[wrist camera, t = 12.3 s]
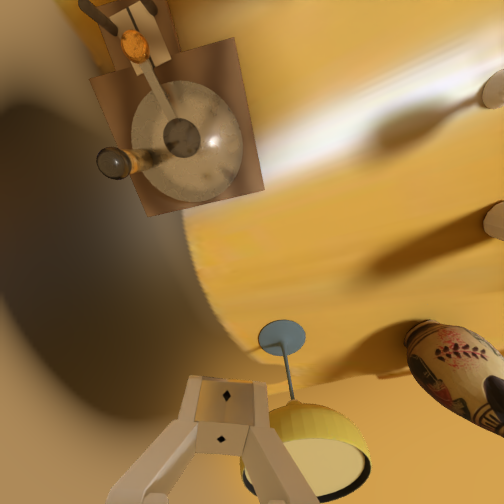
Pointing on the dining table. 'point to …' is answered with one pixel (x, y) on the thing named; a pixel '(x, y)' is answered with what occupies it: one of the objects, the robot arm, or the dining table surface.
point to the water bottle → (495, 222)
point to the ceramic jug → (459, 372)
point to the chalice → (494, 91)
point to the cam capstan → (177, 136)
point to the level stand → (167, 70)
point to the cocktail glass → (314, 430)
